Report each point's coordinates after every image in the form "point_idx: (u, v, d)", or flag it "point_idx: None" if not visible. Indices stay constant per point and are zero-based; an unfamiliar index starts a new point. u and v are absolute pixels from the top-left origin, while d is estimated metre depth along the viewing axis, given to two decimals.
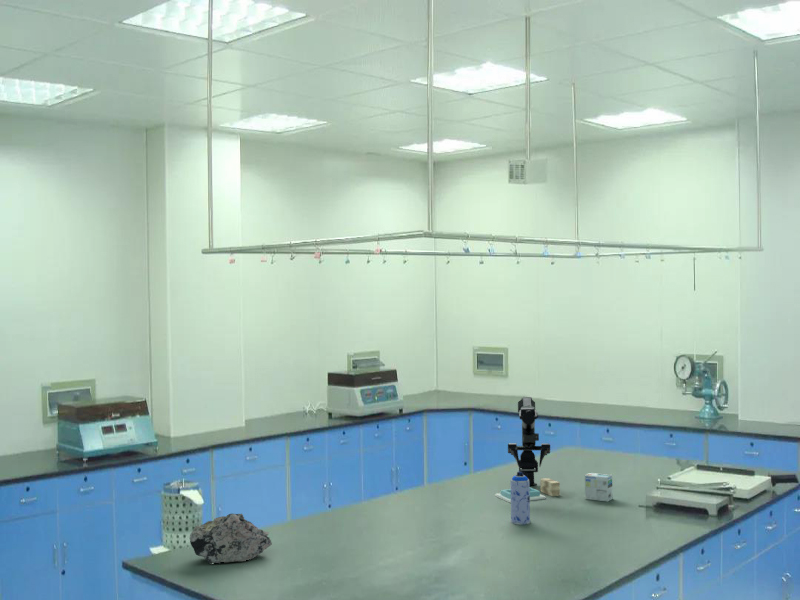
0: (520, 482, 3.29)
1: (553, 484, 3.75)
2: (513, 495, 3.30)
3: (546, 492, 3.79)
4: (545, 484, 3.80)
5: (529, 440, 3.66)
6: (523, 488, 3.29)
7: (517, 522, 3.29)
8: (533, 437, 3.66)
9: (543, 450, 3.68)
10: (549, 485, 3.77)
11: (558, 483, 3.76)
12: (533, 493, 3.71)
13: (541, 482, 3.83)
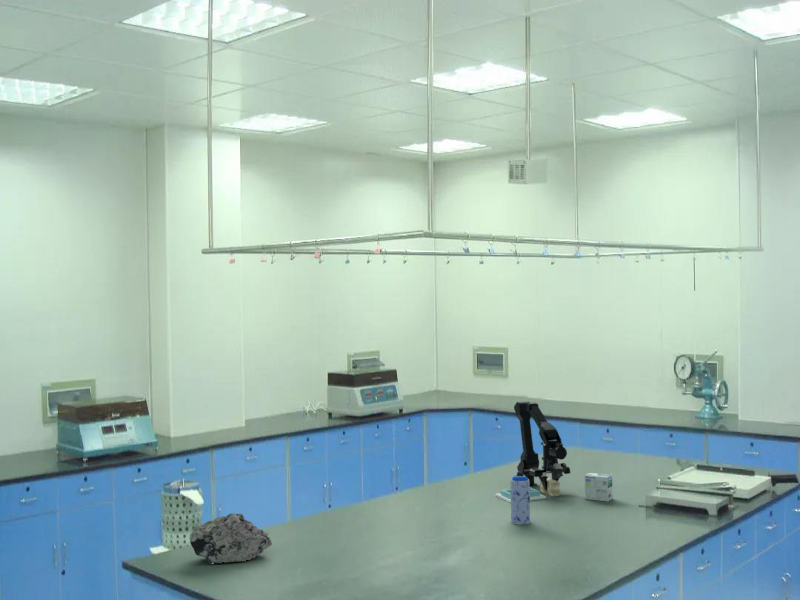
0: (520, 482, 3.29)
1: (553, 484, 3.75)
2: (513, 495, 3.30)
3: (546, 492, 3.79)
4: None
5: (559, 473, 3.73)
6: (523, 488, 3.29)
7: (517, 522, 3.29)
8: (562, 470, 3.73)
9: (560, 476, 3.79)
10: (549, 485, 3.77)
11: (558, 483, 3.76)
12: (533, 493, 3.71)
13: (541, 482, 3.83)
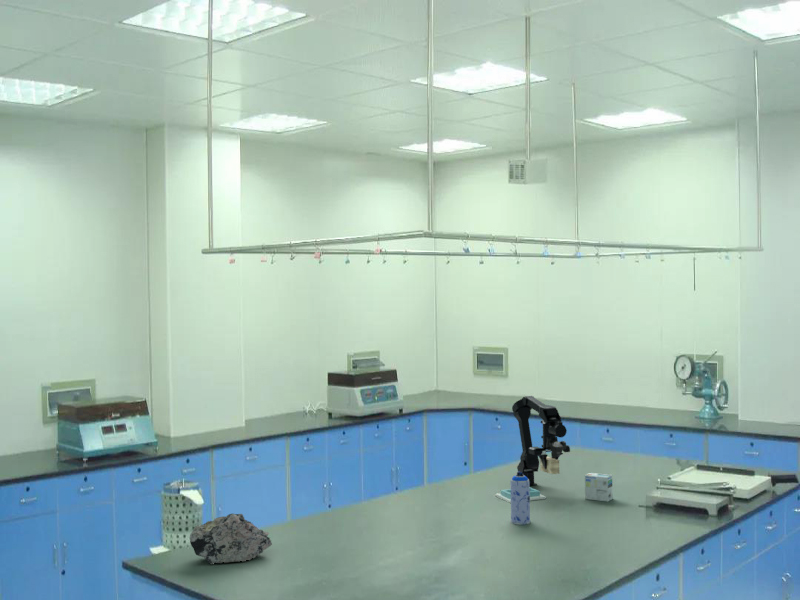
0: (520, 482, 3.29)
1: (553, 462, 3.75)
2: (513, 495, 3.30)
3: (546, 470, 3.79)
4: None
5: (558, 451, 3.73)
6: (523, 488, 3.29)
7: (517, 522, 3.29)
8: (562, 448, 3.73)
9: (559, 454, 3.79)
10: (549, 463, 3.77)
11: (558, 461, 3.76)
12: (533, 493, 3.71)
13: None
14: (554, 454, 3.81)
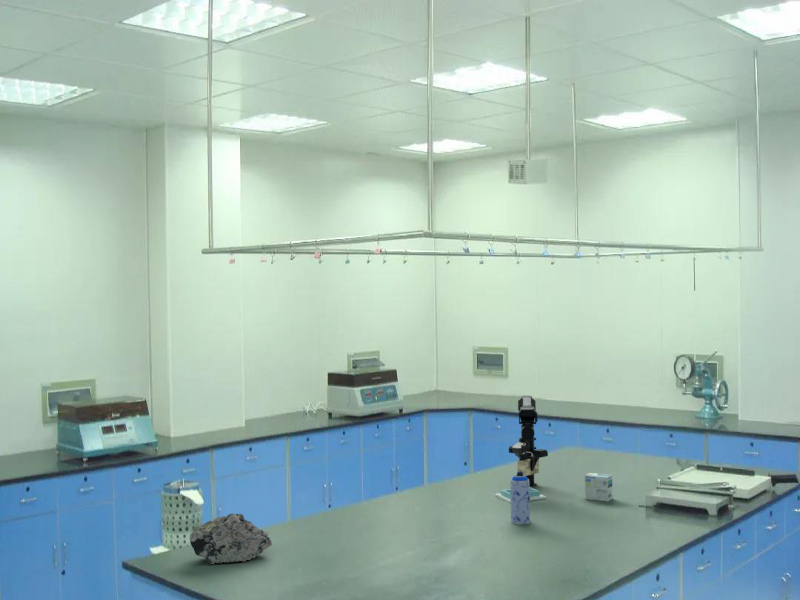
0: (520, 482, 3.29)
1: (518, 463, 3.73)
2: (513, 495, 3.30)
3: None
4: None
5: (516, 452, 3.70)
6: (523, 488, 3.29)
7: (517, 522, 3.29)
8: (519, 450, 3.68)
9: (530, 457, 3.70)
10: None
11: (523, 463, 3.71)
12: (533, 493, 3.71)
13: None
14: None
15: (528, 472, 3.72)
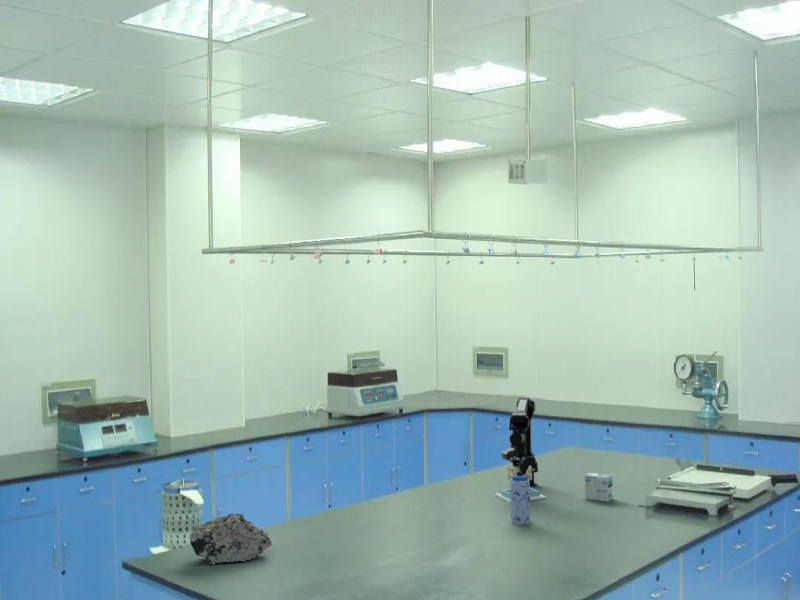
0: (520, 482, 3.29)
1: (508, 468, 3.73)
2: (513, 495, 3.30)
3: None
4: None
5: (504, 457, 3.70)
6: (523, 488, 3.29)
7: (517, 522, 3.29)
8: (505, 455, 3.69)
9: (518, 464, 3.69)
10: None
11: (511, 469, 3.70)
12: (533, 493, 3.71)
13: None
14: None
15: None
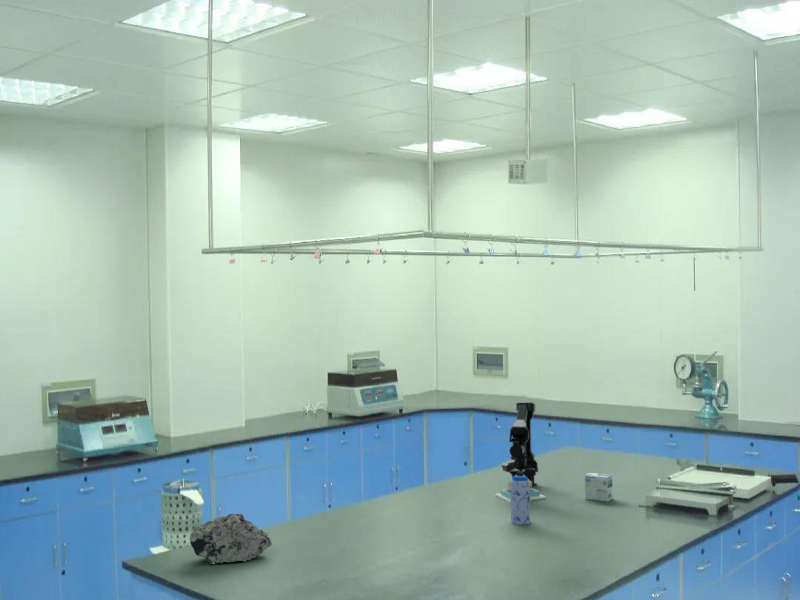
0: (520, 482, 3.29)
1: (508, 483, 3.73)
2: (513, 495, 3.30)
3: None
4: None
5: (504, 469, 3.70)
6: (523, 488, 3.29)
7: (517, 522, 3.29)
8: (505, 467, 3.69)
9: None
10: None
11: None
12: (533, 493, 3.71)
13: None
14: None
15: None
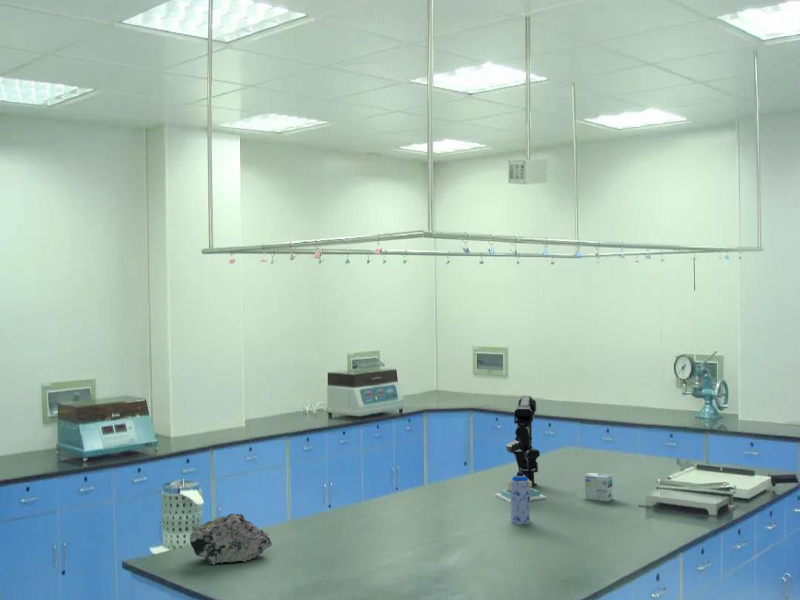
0: (520, 482, 3.29)
1: (508, 483, 3.73)
2: (513, 495, 3.30)
3: None
4: None
5: (509, 450, 3.76)
6: (523, 488, 3.29)
7: (517, 522, 3.29)
8: (510, 448, 3.74)
9: (525, 457, 3.72)
10: None
11: None
12: (533, 493, 3.71)
13: None
14: None
15: None
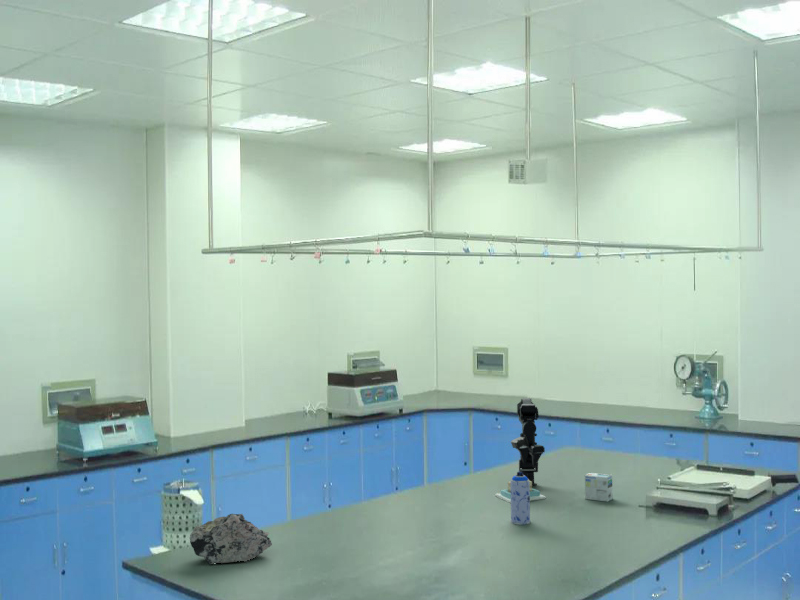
0: (520, 482, 3.29)
1: (508, 483, 3.73)
2: (513, 495, 3.30)
3: None
4: None
5: (514, 446, 3.82)
6: (523, 488, 3.29)
7: (517, 522, 3.29)
8: (515, 444, 3.81)
9: (530, 453, 3.78)
10: None
11: None
12: (533, 493, 3.71)
13: None
14: None
15: None
